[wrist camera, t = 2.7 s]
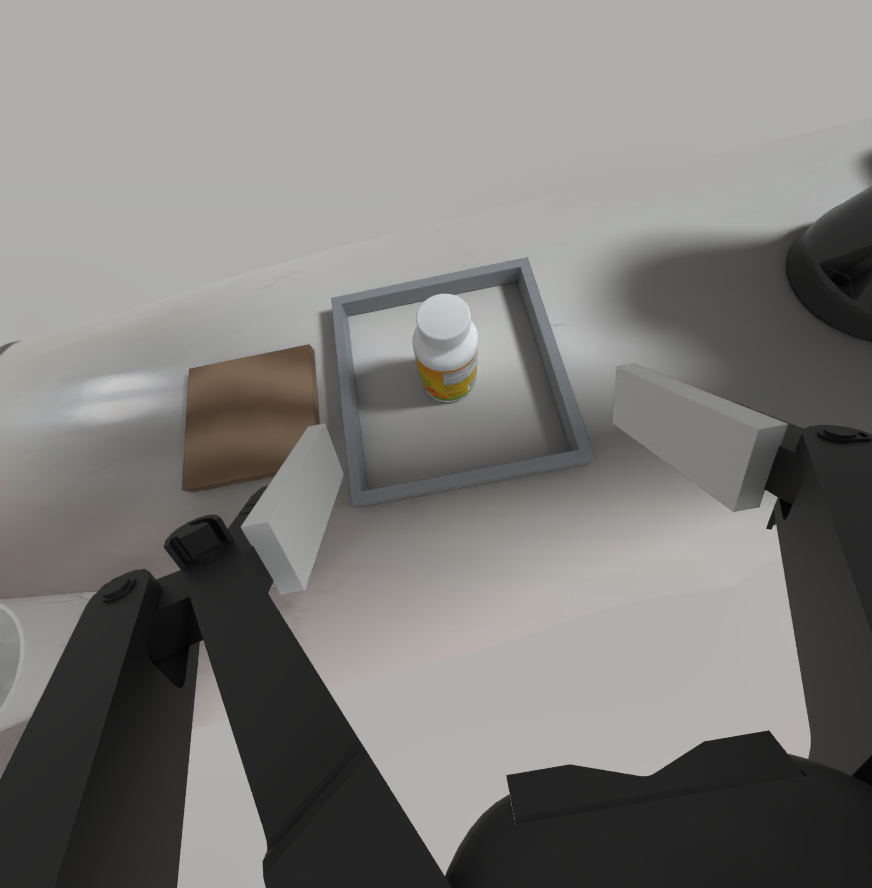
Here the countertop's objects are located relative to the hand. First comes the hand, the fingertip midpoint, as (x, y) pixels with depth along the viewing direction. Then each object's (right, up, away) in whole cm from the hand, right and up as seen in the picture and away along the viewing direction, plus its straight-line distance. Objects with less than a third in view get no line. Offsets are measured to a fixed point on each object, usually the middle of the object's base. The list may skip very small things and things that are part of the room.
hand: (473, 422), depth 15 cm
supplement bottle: (0, +6, +18) cm, 19 cm away
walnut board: (-20, +2, +19) cm, 28 cm away
